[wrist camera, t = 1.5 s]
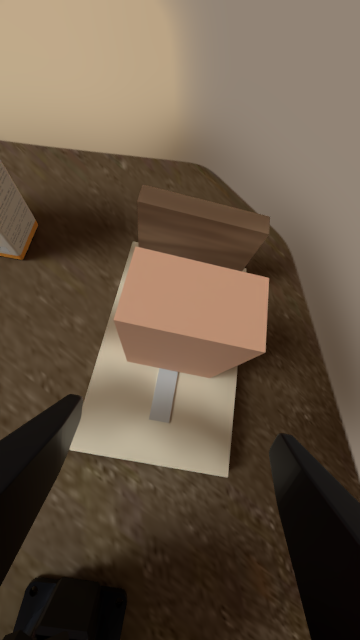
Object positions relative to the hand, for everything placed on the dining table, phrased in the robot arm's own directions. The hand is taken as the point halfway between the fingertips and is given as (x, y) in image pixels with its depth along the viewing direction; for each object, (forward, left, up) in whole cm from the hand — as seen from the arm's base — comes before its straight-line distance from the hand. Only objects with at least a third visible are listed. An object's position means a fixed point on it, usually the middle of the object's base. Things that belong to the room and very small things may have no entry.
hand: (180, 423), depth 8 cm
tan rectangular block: (+6, 0, -12) cm, 13 cm away
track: (+6, 0, -14) cm, 15 cm away
